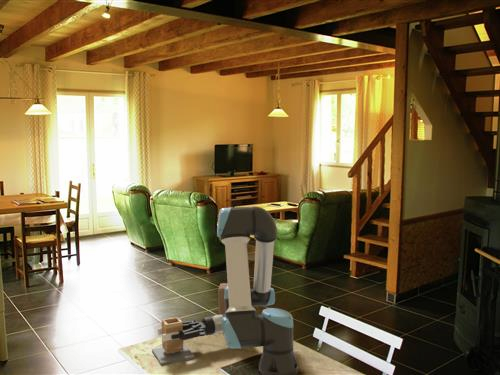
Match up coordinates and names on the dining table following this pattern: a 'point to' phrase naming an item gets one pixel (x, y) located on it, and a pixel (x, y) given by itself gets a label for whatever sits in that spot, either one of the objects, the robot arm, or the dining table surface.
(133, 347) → the dining table surface
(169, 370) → the dining table surface
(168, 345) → the wooden tube bead
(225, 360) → the dining table surface
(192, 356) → the metal rod stand
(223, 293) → the wooden block
